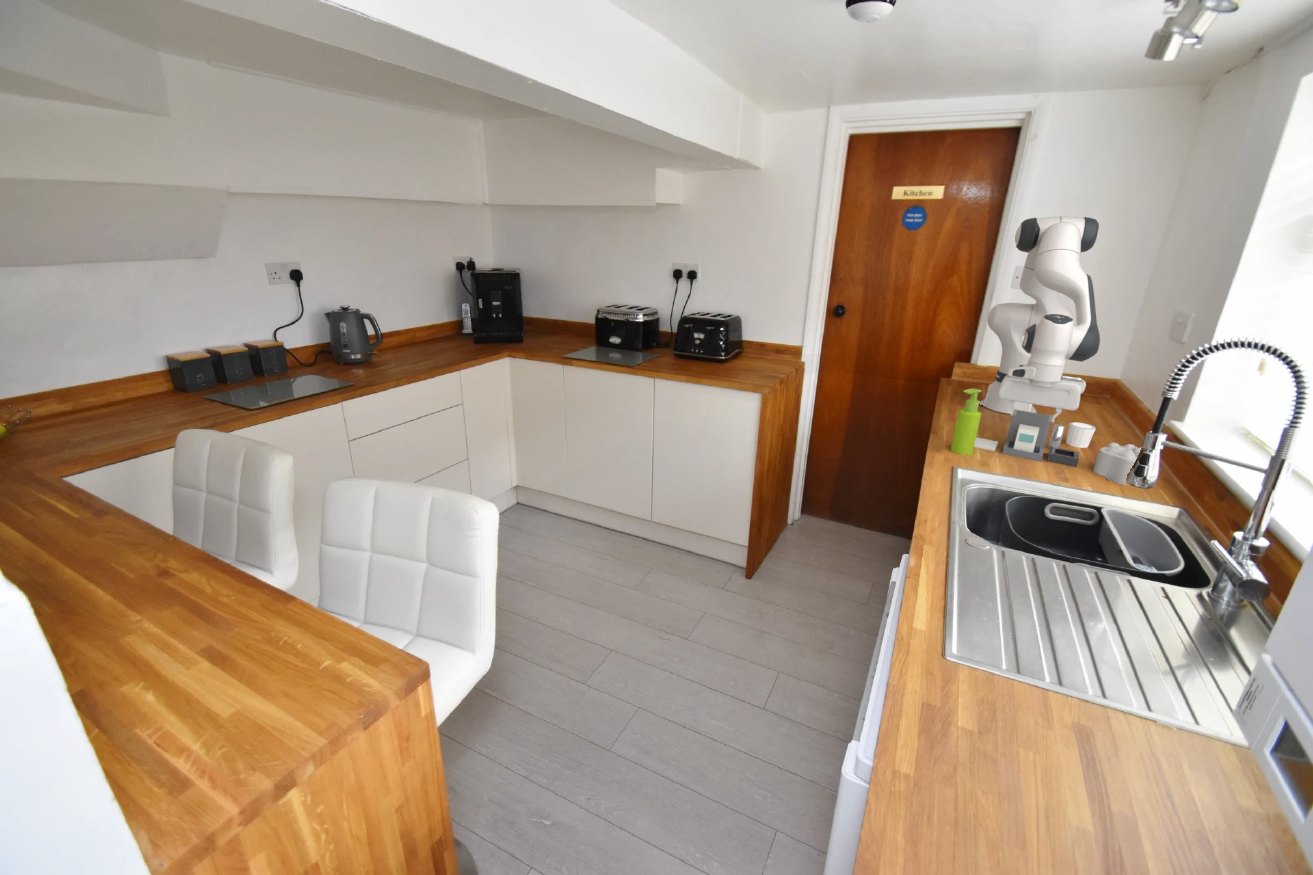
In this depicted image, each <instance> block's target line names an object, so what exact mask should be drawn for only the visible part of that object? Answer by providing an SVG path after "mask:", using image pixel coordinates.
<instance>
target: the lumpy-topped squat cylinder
mask: <svg viewBox="0 0 1313 875" xmlns="http://www.w3.org/2000/svg"><path fill="white" fill-rule="evenodd" d="M1141 448H1142V447H1137V446H1135V444H1132V443H1131V444H1130V443H1128V444H1124V445H1120V443H1117V442H1110V443H1109V444H1107V446H1104V447H1101V448H1100V449H1099V451H1098V454H1097V457H1096V460H1095V462H1094V466H1093V468H1092V469H1093V470H1092V471H1093V473H1094V474H1097V475H1099V476H1103V477H1104V479H1105V480H1108V481H1111V482H1113V483H1115V484H1119V485H1124V486H1128V485H1127V484H1126V478H1127V474H1128V473H1129V472H1130V469H1131V468H1132V466H1133V465H1134V463H1135V461H1136V459H1137V457H1138V455H1139V453H1140V450H1141Z"/></svg>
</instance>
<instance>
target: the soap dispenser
mask: <svg viewBox="0 0 1313 875" xmlns="http://www.w3.org/2000/svg"><path fill="white" fill-rule="evenodd" d="M981 392H982V390H981V389H979V388H968V389H964V390H962V393H964V394H966V395H967V394H968V395H969V394H970V397H968V398H967V399H966V401H965V405H964V408H962V409H959V411H958V415H957V420H956V424H955V429H954V433H953V438H952V442H951V448H950V451H951V452H953V453H955V454H957V455H962V456H970V455H972V454H973V452H974V450H975V449H974V448H975V447H974V444H975V440H976V437H977V436H978V431H979V426H980V422H981V418H982V412H980V411H979V410H978V408H979V406H980V405H979V402H980V400H978V395H979V393H981Z"/></svg>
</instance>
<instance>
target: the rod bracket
mask: <svg viewBox="0 0 1313 875" xmlns="http://www.w3.org/2000/svg"><path fill="white" fill-rule="evenodd" d="M1079 460H1080V452H1079V451H1075V450H1070V449H1065V448H1061V447H1059V448H1056V447H1050V449H1049V451H1048V454H1047V462H1050V463H1054V464H1059V465H1065V466H1069V467H1074V468H1077V466H1078V463H1079Z"/></svg>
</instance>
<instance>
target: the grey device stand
mask: <svg viewBox="0 0 1313 875" xmlns="http://www.w3.org/2000/svg"><path fill="white" fill-rule="evenodd" d="M1049 415H1050V414H1045V413H1044V414H1043V413H1038V412H1036V413H1033V412H1027V411H1021V410H1018V411H1017V415H1016V416H1011V420H1010V424H1009V428H1008V432H1007V436H1006V440H1005V441H1004V445H1003V449H1002V452H1001V454H1002V455H1008V456H1013V457H1017V458H1021V459H1026V460H1031V461H1036V462H1042V460H1043V456H1044V452H1045V451H1044V450H1045V445H1046V442H1047V438H1048V435H1049V431H1050V429H1051V428H1050V427H1051V422H1048V419H1049ZM1020 424H1023V425H1028V426H1034V427H1039V432H1038V436H1037V439H1036V443H1035V447H1034V450H1033V452H1028V451H1023V450H1018V449H1013V448H1014V445H1015V441H1016V437H1017V433H1018V429H1019V426H1020Z"/></svg>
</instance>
